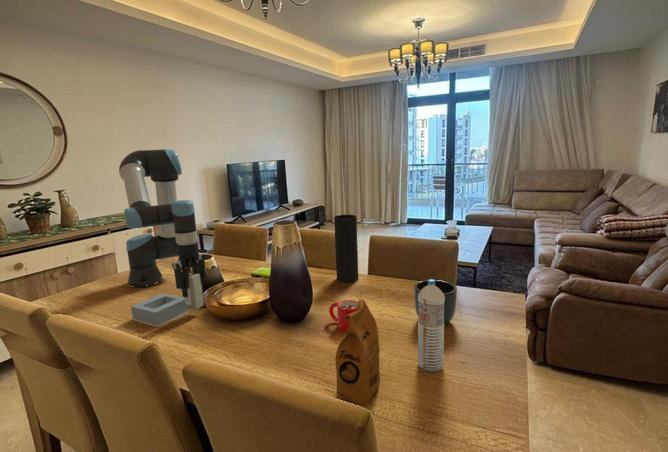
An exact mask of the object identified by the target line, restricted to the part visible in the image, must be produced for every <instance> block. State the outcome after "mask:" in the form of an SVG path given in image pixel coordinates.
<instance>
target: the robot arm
mask: <svg viewBox="0 0 668 452" xmlns="http://www.w3.org/2000/svg"><path fill="white" fill-rule="evenodd" d="M118 173H119V176H120V178H121V180H123V183H124V189H125V194H126V199H127V204H128V207H127V208H124V211H123V212H124V220H125V225H126V228H127V229H141V228H142V229H143V228H148V227H157V226H159V229H158V230H157V232H156V233H157V235H153V234H152V233H144V234H139V235H136V236H132V237H130V238H129V239H127V240H126V245H125V246H126V249H125V250H126V252H127V258H128V265H129V273H128V279H127V286H128V285H130V286H134V287H139V286H146V285H151V284H154V283H156V282H159V281H160V280H162V279H163V275H162V273H161V271H160V269H159V267H158V265H157V260H163V259H164V260H165V259H169V258H177V257H178V258H177V261H176V262H175V263H174V262H173V263H172V264H171V266H172V268H173V271H174V272H173V273H174V279H175V280H174V281H175V287H176V289H178V290H181V294H182V297H184V299H185V304H187V305H192V302H191V294H190V288H188V279H189V273H190V271H191V269H192V274H200V281H201V289H202V291H203V290H204V286H203V284H204V283H205V280H207V271H206V264H205V263H206V262H205V261H206V260H205V259H206V255H205V254H201V253H199V251H200V248H199V243H198V232H197V223H196V222H197V221H196V216H195V215H196V214H195V212H196V211H195V205H194V202H193V200H189V199H183V200H177V199H178V198H177V189H176V188H177V187H176V186H177V185H176V182H177V181H178V180H179V176H180V175H183V174H182V166H181V162H180V158H179V156H178V154H177V152H176V150H174V149H164V148H163V149H146V150H145V149H143V150H140V149H139V150H134V151H132V152H130V153H128V154H127V155H126V156H124V158H123V159H122V160H121V162H120V164H119V167H118ZM147 177H150V180H151V182H153V183H154V185H155V187H154V188H155V195H156V203H157V205H152V202H151V200H150V196H149V191H148V188H147V183H146V180H145V178H147ZM162 281H163V280H162ZM159 283H160V282H159ZM151 286H152V285H151ZM203 295H204V294H203V293H202V296H203ZM203 297H204V296H203Z"/></svg>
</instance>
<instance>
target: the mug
mask: <svg viewBox="0 0 668 452" xmlns="http://www.w3.org/2000/svg"><path fill="white" fill-rule="evenodd" d="M357 303H358V301H357V300H353V299H351V300H348V299H345V300H342V301H340V302H334V303H331V305H330V306H329V309H328V312H329V316H330V318H331V320H333V321H335V322H337V327H338V329H339V330H341V331H343V332H346V331H347V329H348V327H349V325H350V324H349V320H344V317H346V316H347V315H349V314H351V313H354V312H356V311H357ZM335 308H336V309H337V315H335V313H334V309H335Z"/></svg>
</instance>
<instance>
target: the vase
mask: <svg viewBox="0 0 668 452" xmlns="http://www.w3.org/2000/svg"><path fill="white" fill-rule="evenodd" d="M333 219H334V220H333V221H334V222H333V223H334V244H335V245H334V247H335V265H336V266H335V269H336V270H335V271H336V280H338V282H339V281H340V282H339V283H342V282H344V283H343V284H351V282H352V283H355V281H356V282H358V280H359V256H358V255H359V254H358V225H357V223H358V222H357V219H358V218H357V215H355V214H339V215H335V216H334V217H333Z"/></svg>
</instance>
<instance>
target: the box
mask: <svg viewBox="0 0 668 452" xmlns="http://www.w3.org/2000/svg"><path fill="white" fill-rule="evenodd" d="M188 288H190V294H191V302H192V305H187V304H186V308H188V309H189V310H198V309H200V308H201V307H203V306H204V296H202V294H203V290H202V289H201V281H200V274H194V273H190V272H189V279H188Z"/></svg>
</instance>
